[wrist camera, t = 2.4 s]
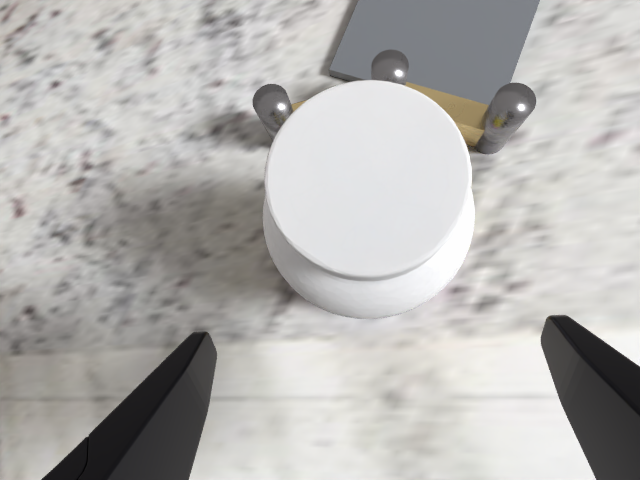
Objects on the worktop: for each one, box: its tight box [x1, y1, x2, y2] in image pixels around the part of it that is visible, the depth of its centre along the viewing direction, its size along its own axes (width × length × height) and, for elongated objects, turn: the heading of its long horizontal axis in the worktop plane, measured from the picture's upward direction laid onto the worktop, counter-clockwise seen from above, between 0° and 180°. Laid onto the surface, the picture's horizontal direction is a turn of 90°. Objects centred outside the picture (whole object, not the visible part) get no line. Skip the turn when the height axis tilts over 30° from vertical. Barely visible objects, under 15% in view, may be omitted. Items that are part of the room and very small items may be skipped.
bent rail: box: [253, 49, 536, 154], centre depth 20 cm, size 13×5×4 cm, turn 68°
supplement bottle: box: [263, 80, 475, 319], centre depth 15 cm, size 7×7×13 cm
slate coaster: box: [329, 0, 540, 105], centre depth 22 cm, size 10×10×1 cm
